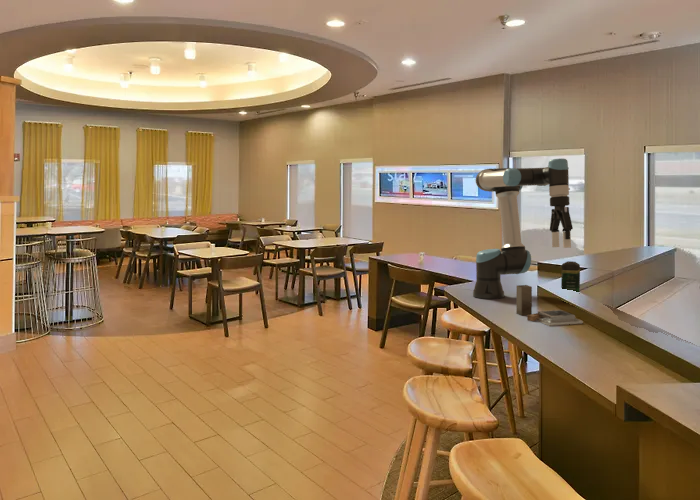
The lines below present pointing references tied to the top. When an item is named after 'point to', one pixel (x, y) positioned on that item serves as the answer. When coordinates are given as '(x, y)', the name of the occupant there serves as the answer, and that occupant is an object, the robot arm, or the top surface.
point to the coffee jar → (570, 276)
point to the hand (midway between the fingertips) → (561, 247)
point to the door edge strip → (533, 317)
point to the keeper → (557, 318)
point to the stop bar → (524, 300)
